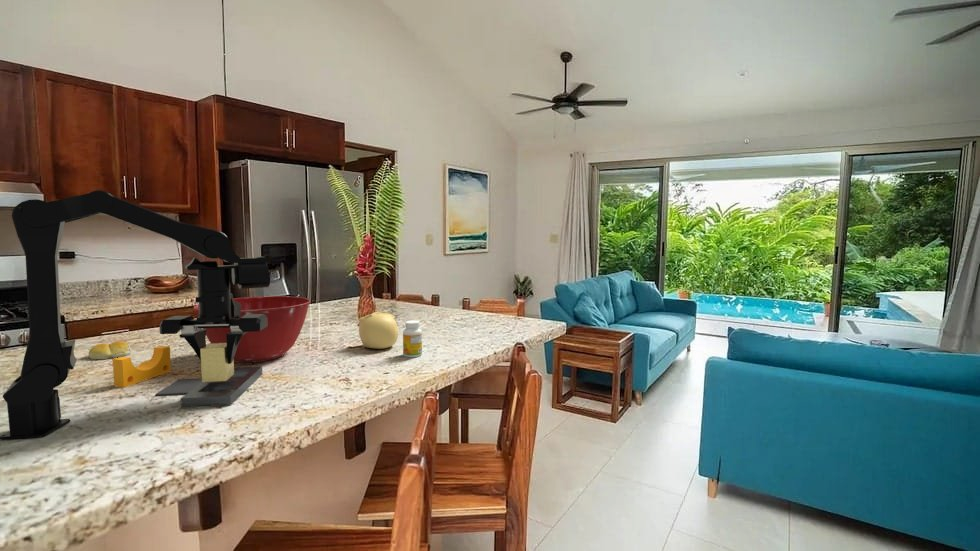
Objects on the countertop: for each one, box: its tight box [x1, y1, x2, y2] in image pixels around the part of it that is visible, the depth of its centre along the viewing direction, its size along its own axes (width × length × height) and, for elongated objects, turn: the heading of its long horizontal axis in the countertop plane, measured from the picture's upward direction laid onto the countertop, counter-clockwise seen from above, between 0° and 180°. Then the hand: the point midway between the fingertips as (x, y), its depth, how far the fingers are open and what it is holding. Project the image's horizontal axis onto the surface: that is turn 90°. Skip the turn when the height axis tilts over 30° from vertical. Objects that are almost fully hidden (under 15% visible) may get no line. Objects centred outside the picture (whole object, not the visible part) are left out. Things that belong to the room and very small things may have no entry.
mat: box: [154, 377, 202, 397], centre depth 100 cm, size 10×10×1 cm
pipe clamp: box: [111, 345, 172, 388], centre depth 105 cm, size 12×4×6 cm, turn 170°
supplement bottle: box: [402, 320, 423, 358], centre depth 127 cm, size 5×5×10 cm
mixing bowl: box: [193, 295, 311, 364], centre depth 124 cm, size 28×28×15 cm
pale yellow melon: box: [358, 311, 399, 349], centre depth 136 cm, size 12×12×11 cm
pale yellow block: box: [200, 343, 235, 382], centre depth 94 cm, size 4×4×7 cm
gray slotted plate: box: [180, 365, 263, 409], centre depth 98 cm, size 20×9×2 cm, turn 11°
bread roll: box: [88, 340, 132, 360], centre depth 123 cm, size 8×9×4 cm
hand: (217, 363), depth 94 cm, fingers closed on pale yellow block, 4 cm apart
